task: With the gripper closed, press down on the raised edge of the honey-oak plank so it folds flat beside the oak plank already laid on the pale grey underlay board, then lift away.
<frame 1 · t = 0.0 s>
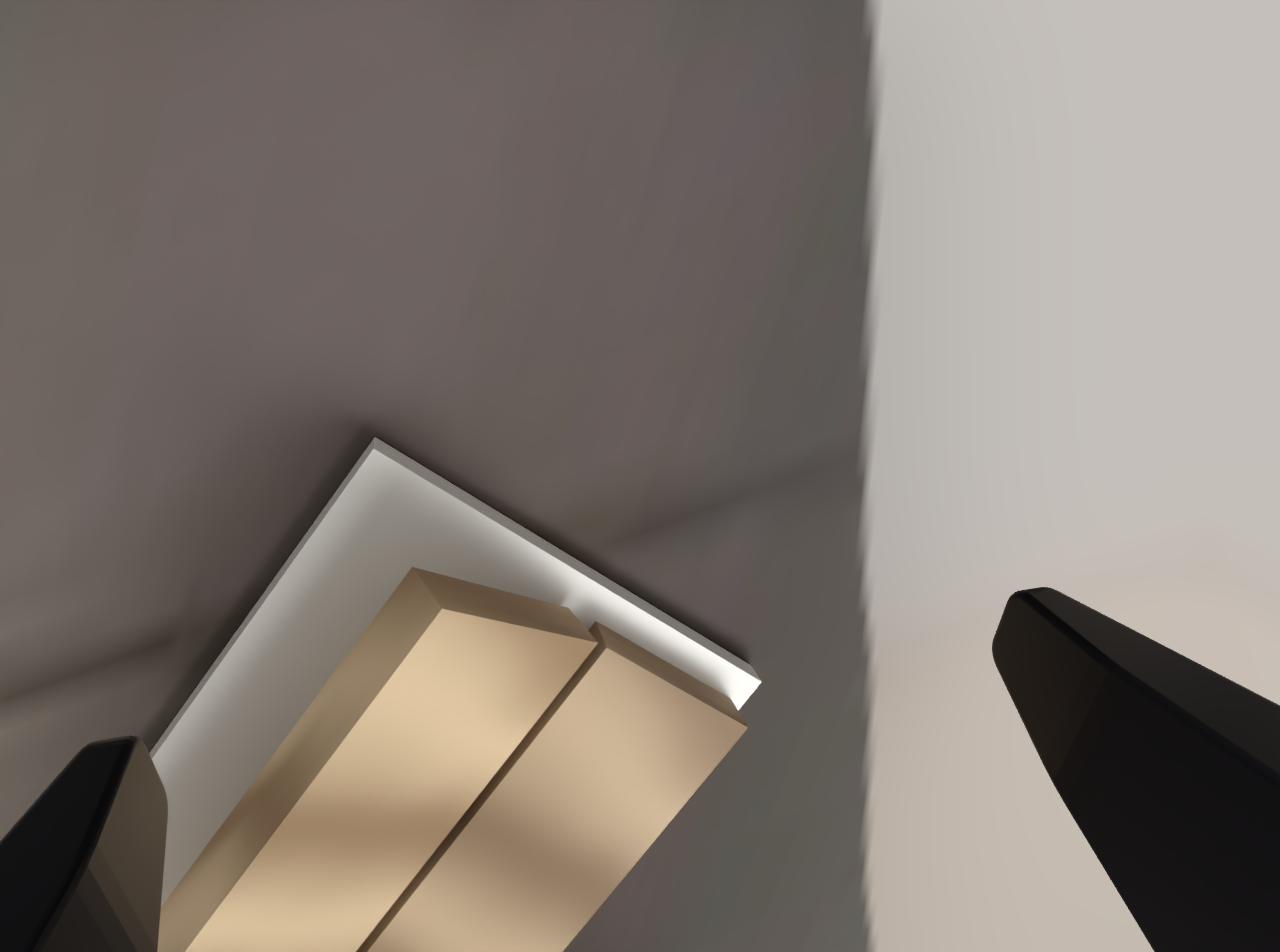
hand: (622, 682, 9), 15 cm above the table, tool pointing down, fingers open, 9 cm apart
laid plank: (521, 842, 27), resting on underlay board
raised plank: (346, 826, 23), point 3 cm above the table, hinge at 30.0°
underlay board: (418, 776, 27), on the table
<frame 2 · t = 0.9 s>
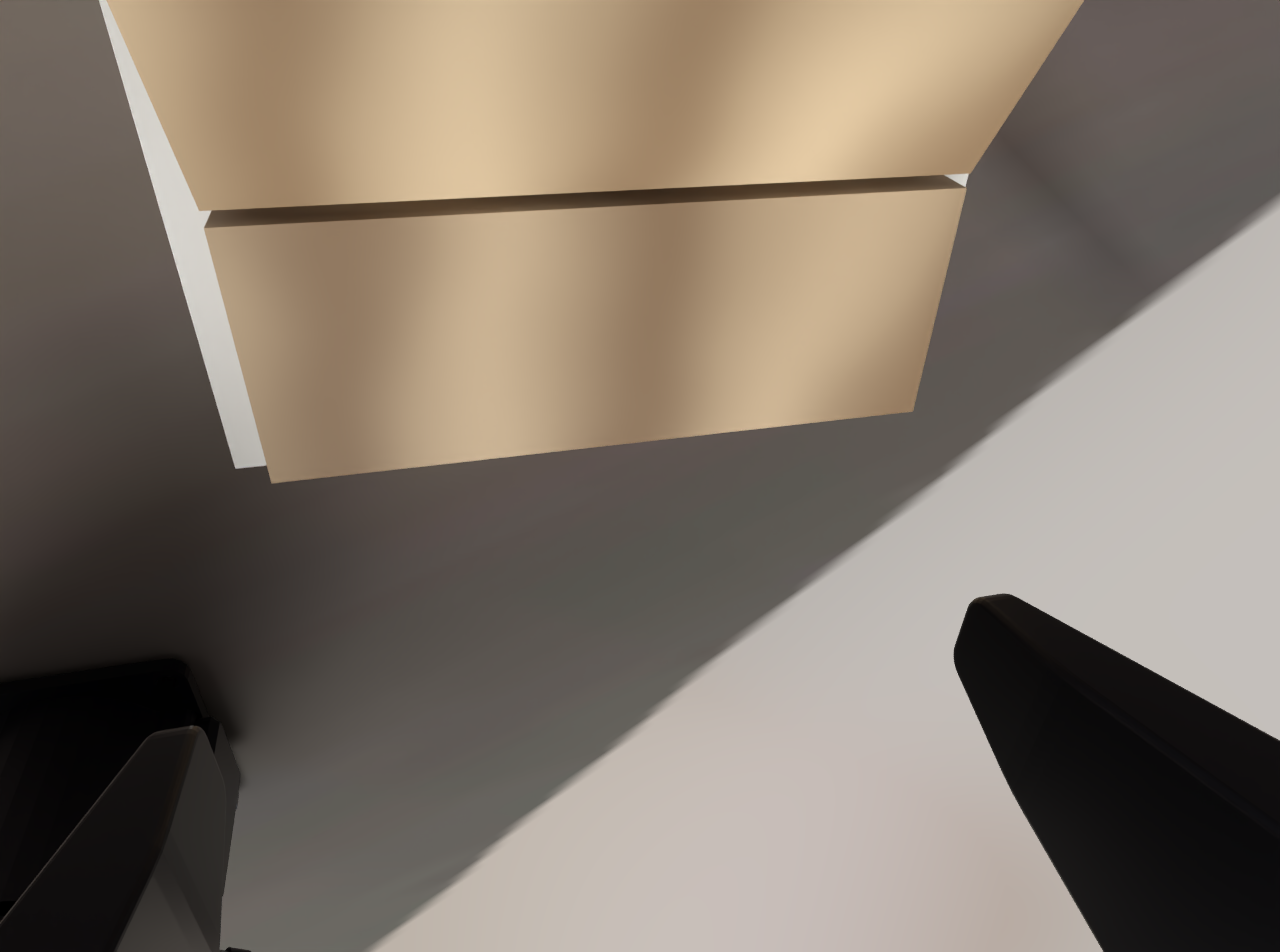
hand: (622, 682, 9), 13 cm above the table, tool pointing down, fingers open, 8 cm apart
laid plank: (604, 306, 20), resting on underlay board
raised plank: (636, 24, 14), point 3 cm above the table, hinge at 30.0°
underlay board: (595, 120, 18), on the table
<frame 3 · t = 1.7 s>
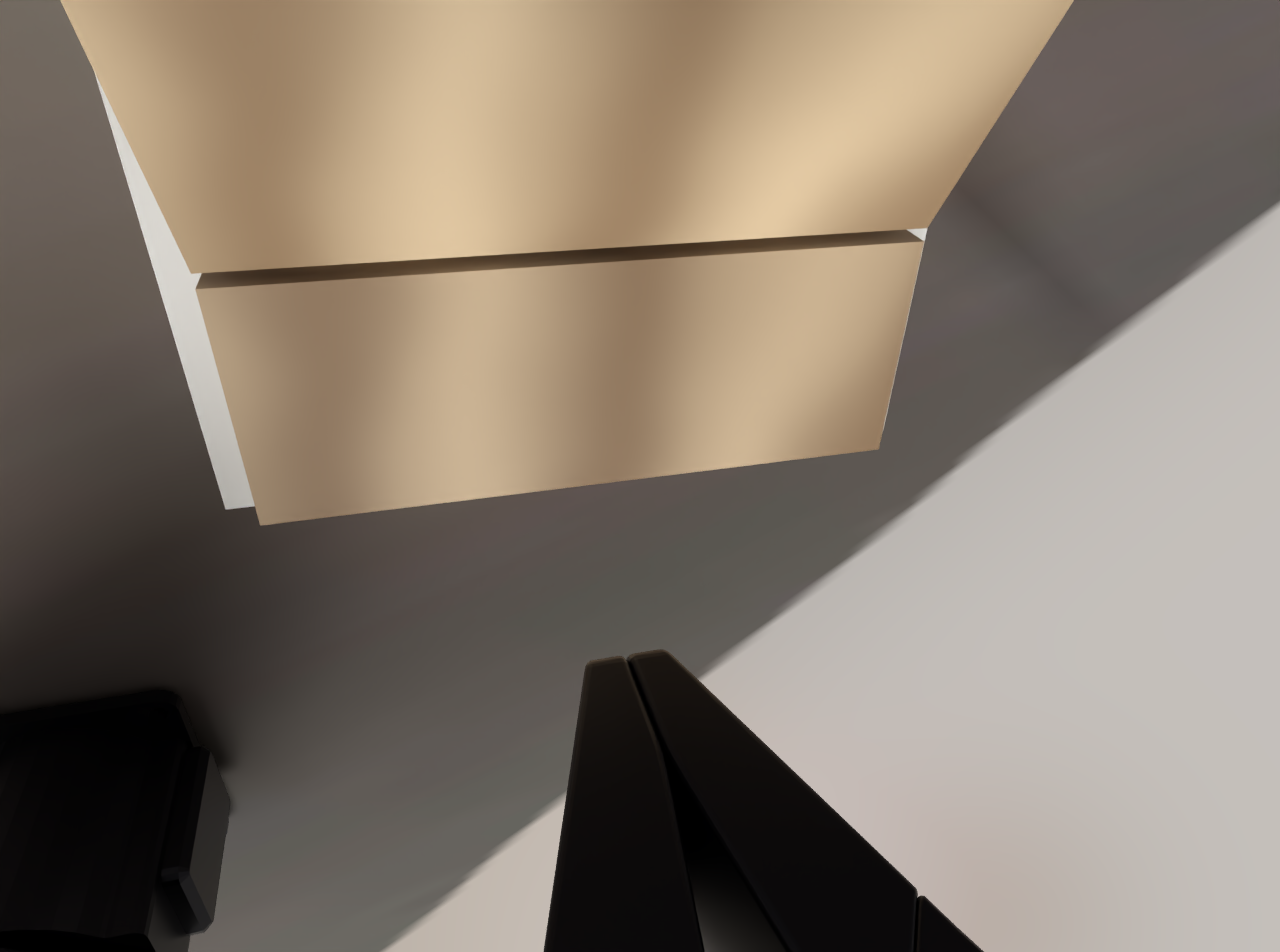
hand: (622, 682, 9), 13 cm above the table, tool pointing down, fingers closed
laid plank: (580, 352, 20), resting on underlay board
raised plank: (604, 100, 15), point 3 cm above the table, hinge at 30.0°
underlay board: (570, 178, 19), on the table
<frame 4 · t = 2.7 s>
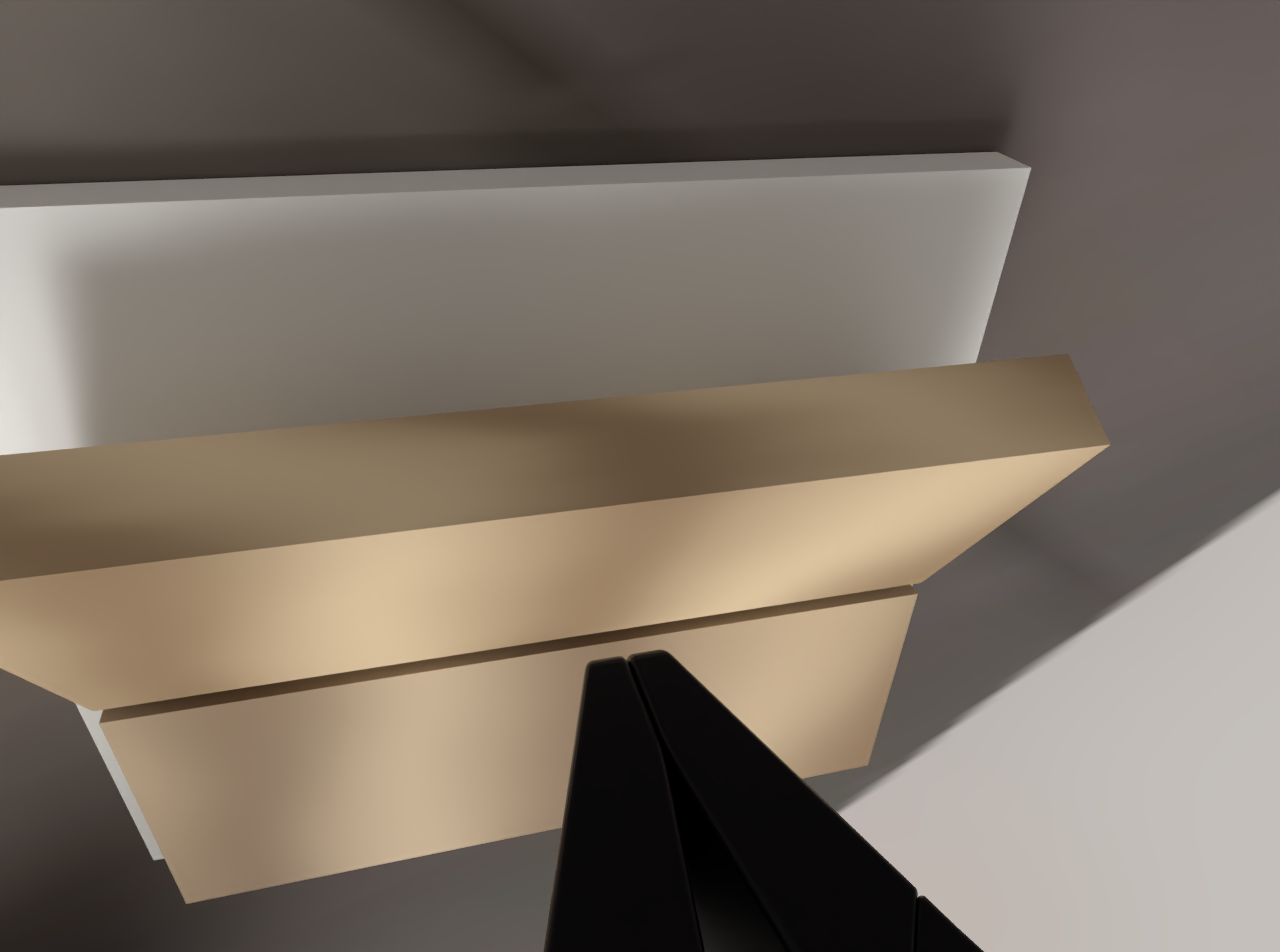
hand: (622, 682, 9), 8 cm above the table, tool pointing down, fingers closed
laid plank: (542, 691, 19), resting on underlay board
raised plank: (554, 542, 13), point 3 cm above the table, hinge at 30.0°
underlay board: (528, 526, 17), on the table
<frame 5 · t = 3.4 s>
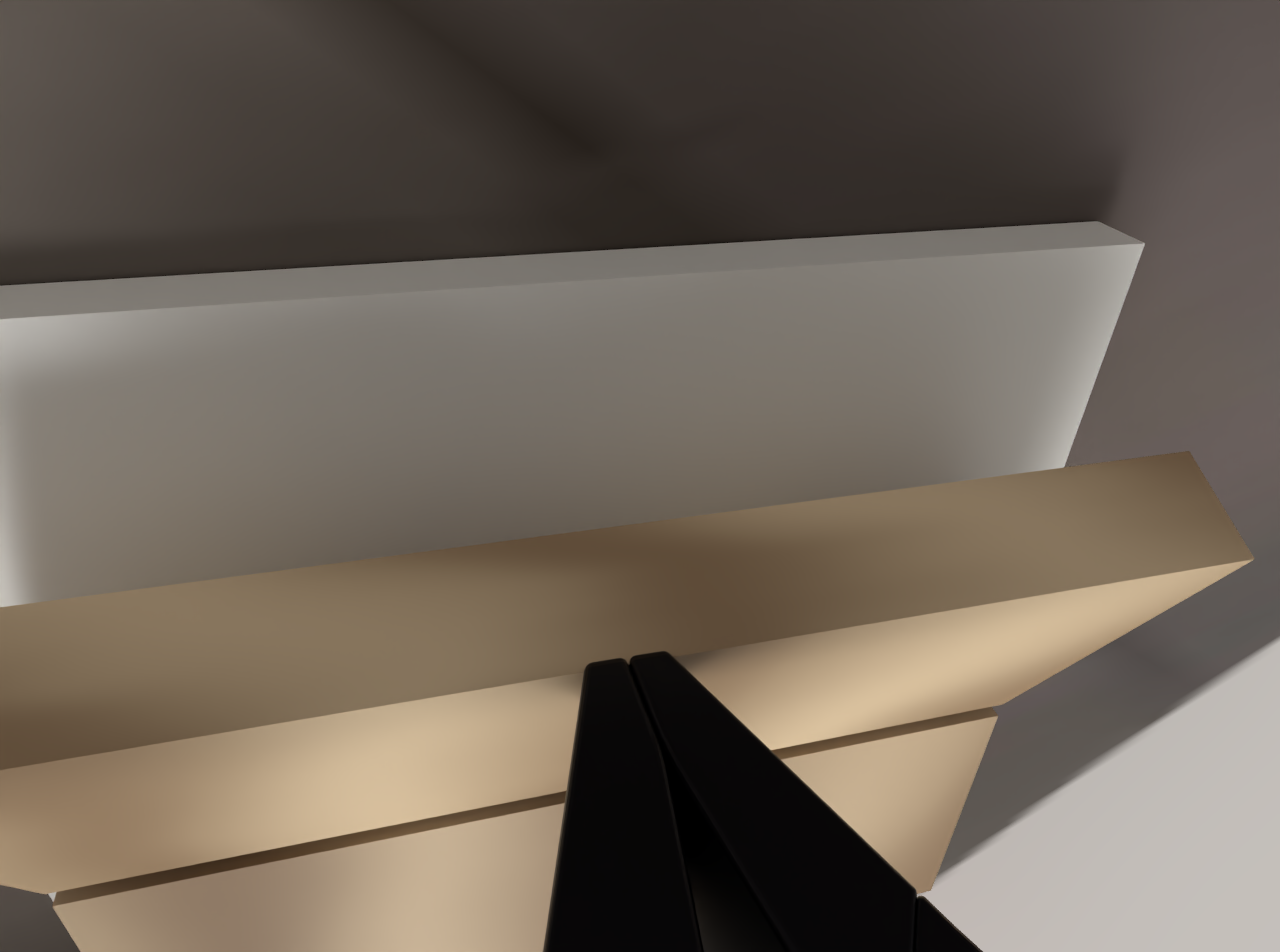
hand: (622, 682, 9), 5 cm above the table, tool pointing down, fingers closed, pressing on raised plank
laid plank: (567, 822, 17), resting on underlay board
raised plank: (590, 682, 11), point 3 cm above the table, hinge at 25.8°, touching gripper
underlay board: (554, 643, 15), on the table
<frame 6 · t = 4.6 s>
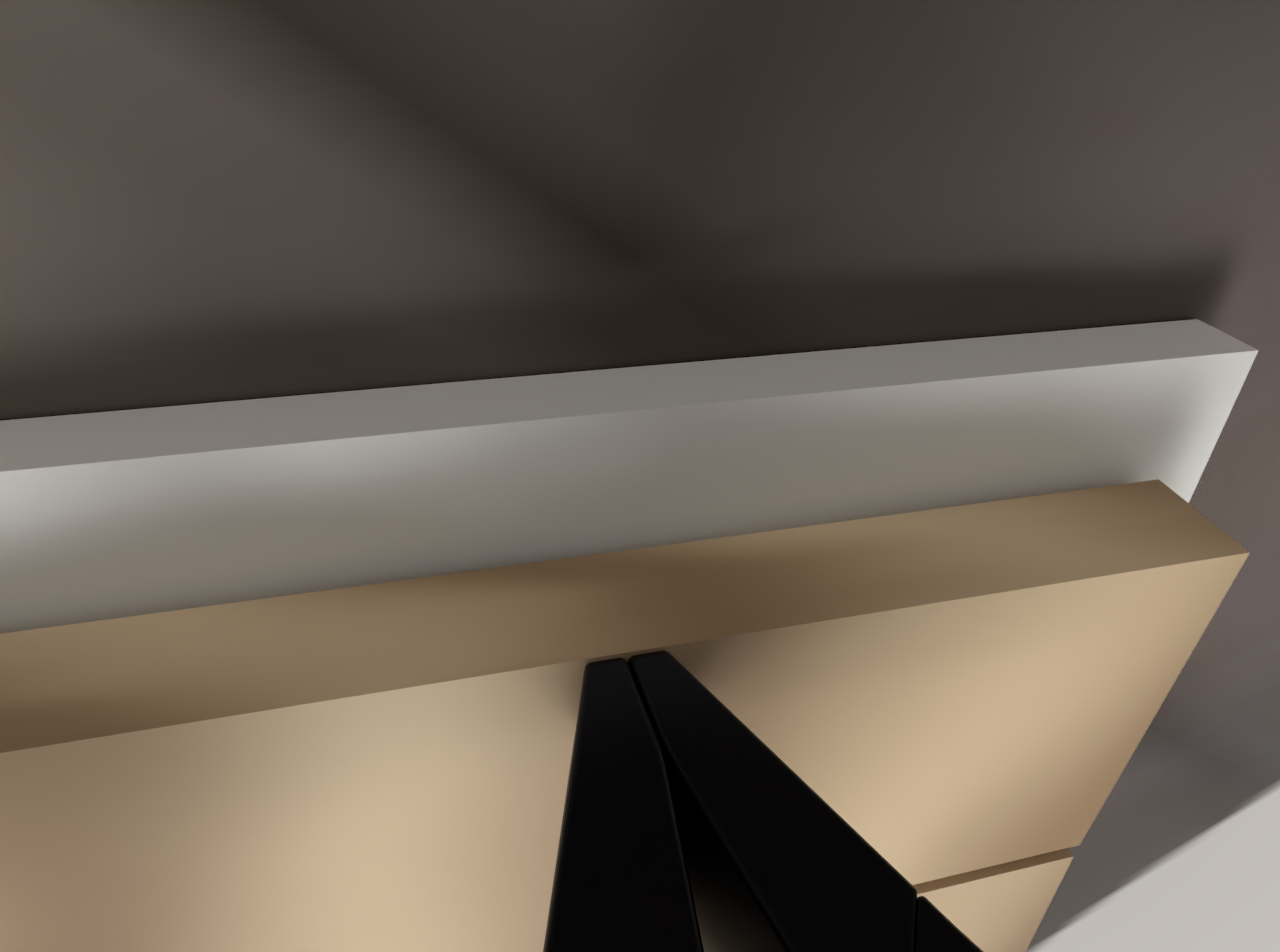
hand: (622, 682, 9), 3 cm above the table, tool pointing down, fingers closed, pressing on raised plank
raised plank: (605, 776, 11), point 2 cm above the table, hinge at 2.2°, touching gripper
underlay board: (578, 775, 14), on the table
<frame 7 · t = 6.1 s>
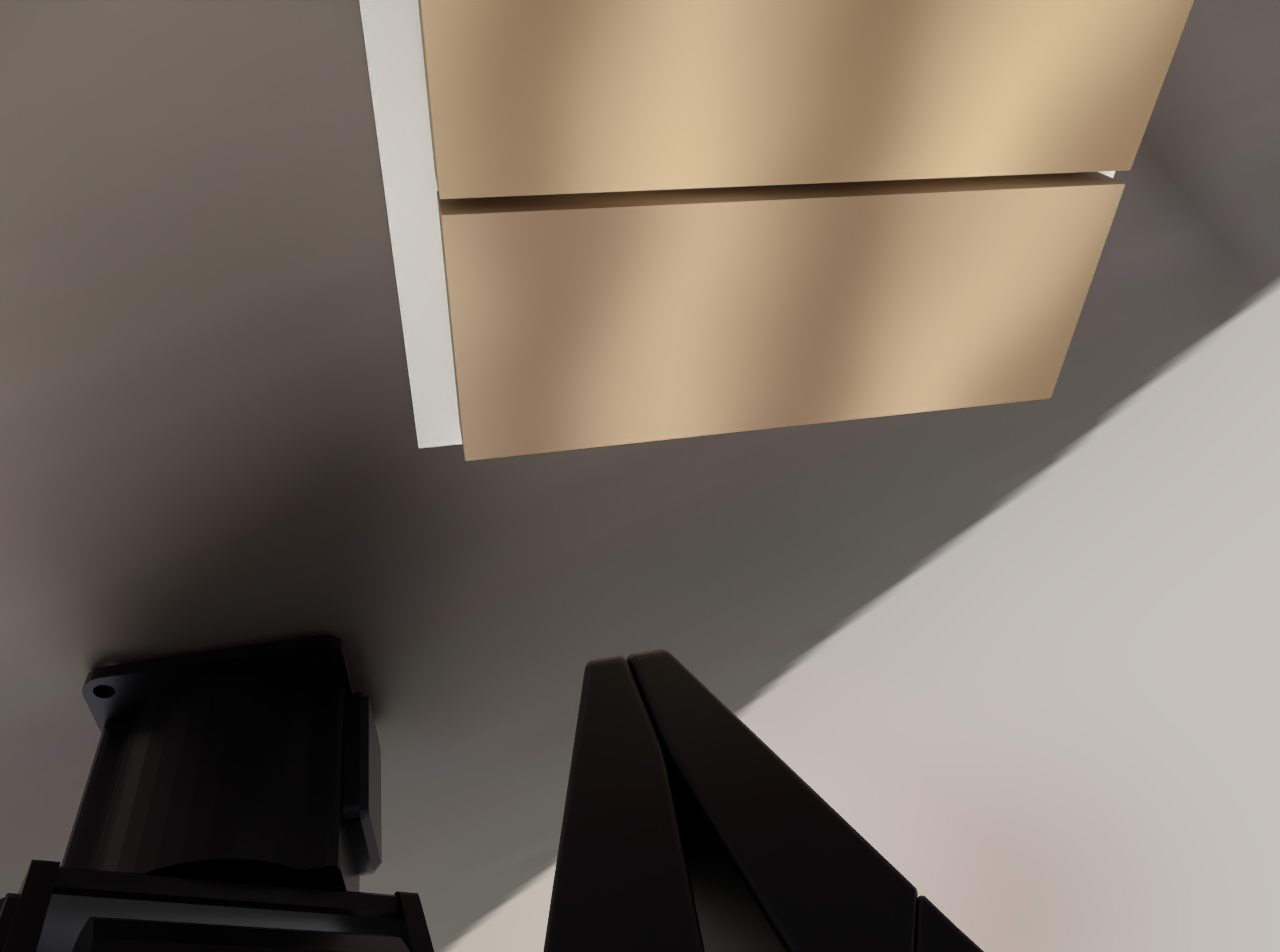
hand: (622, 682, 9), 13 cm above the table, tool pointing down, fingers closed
laid plank: (772, 295, 21), resting on underlay board
raised plank: (827, 11, 16), point 2 cm above the table, hinge at 2.0°
underlay board: (776, 117, 19), on the table
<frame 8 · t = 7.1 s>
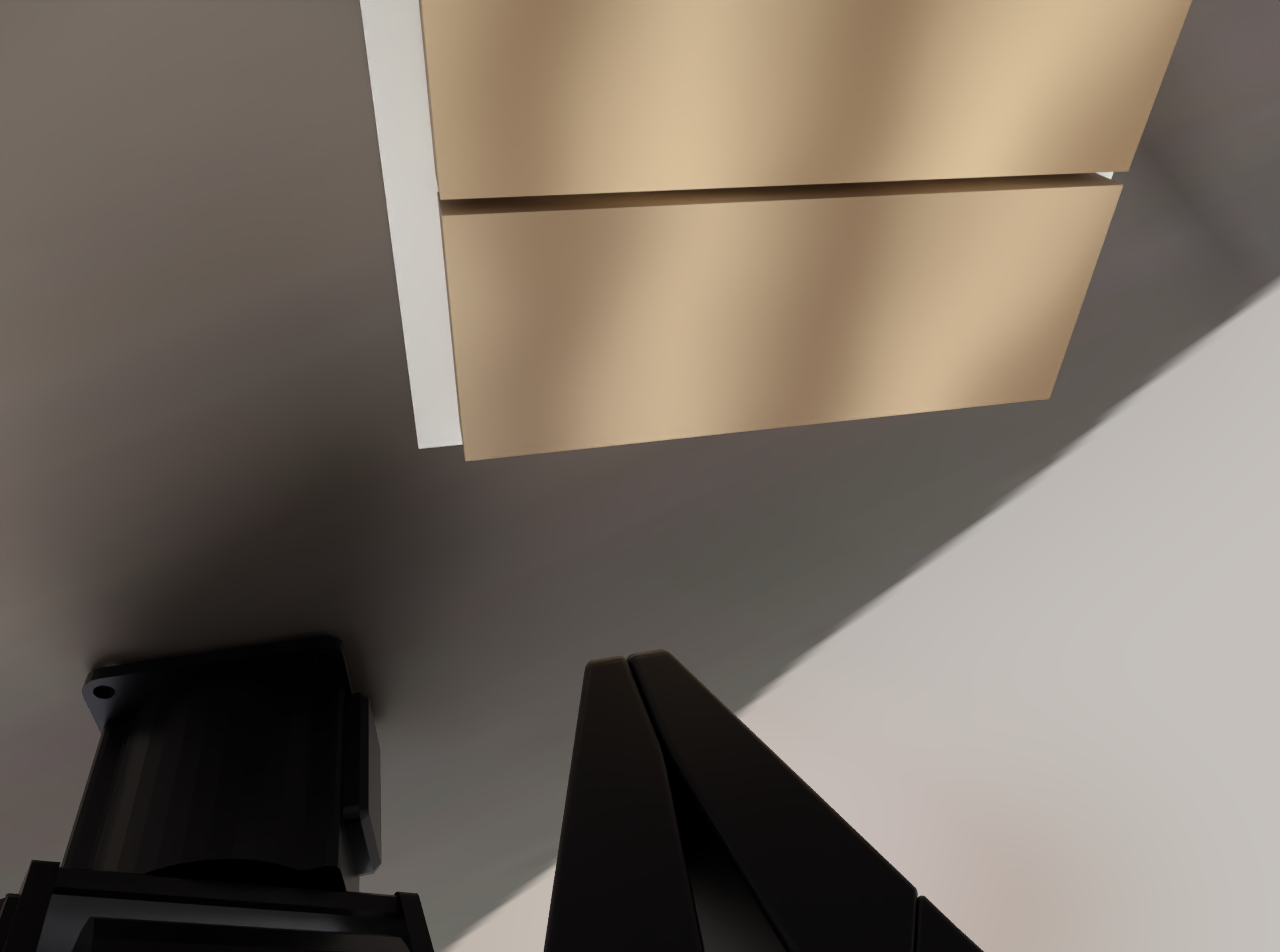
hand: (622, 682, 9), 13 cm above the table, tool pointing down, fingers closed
laid plank: (771, 295, 21), resting on underlay board
raised plank: (826, 12, 17), point 2 cm above the table, hinge at 2.0°
underlay board: (775, 118, 19), on the table
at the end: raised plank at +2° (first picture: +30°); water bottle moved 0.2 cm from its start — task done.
